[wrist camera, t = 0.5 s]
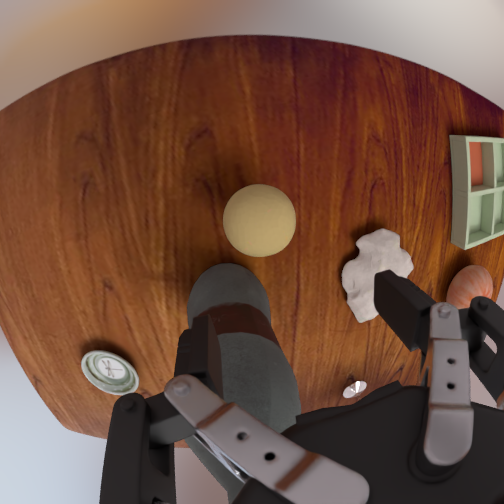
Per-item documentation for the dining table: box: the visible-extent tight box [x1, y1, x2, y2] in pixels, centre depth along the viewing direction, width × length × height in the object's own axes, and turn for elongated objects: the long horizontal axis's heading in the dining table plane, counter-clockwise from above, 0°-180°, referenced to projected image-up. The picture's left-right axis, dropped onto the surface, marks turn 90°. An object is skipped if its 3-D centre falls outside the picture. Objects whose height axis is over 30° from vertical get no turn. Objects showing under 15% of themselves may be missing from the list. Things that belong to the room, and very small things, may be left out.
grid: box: [449, 135, 504, 250], centre depth 32 cm, size 17×17×4 cm
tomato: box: [446, 265, 493, 309], centre depth 36 cm, size 11×11×8 cm
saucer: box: [81, 350, 139, 395], centre depth 36 cm, size 10×10×2 cm
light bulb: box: [223, 184, 296, 257], centre depth 26 cm, size 6×6×10 cm
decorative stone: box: [342, 228, 413, 323], centre depth 35 cm, size 11×4×15 cm
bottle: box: [185, 263, 301, 504], centre depth 20 cm, size 9×9×30 cm
